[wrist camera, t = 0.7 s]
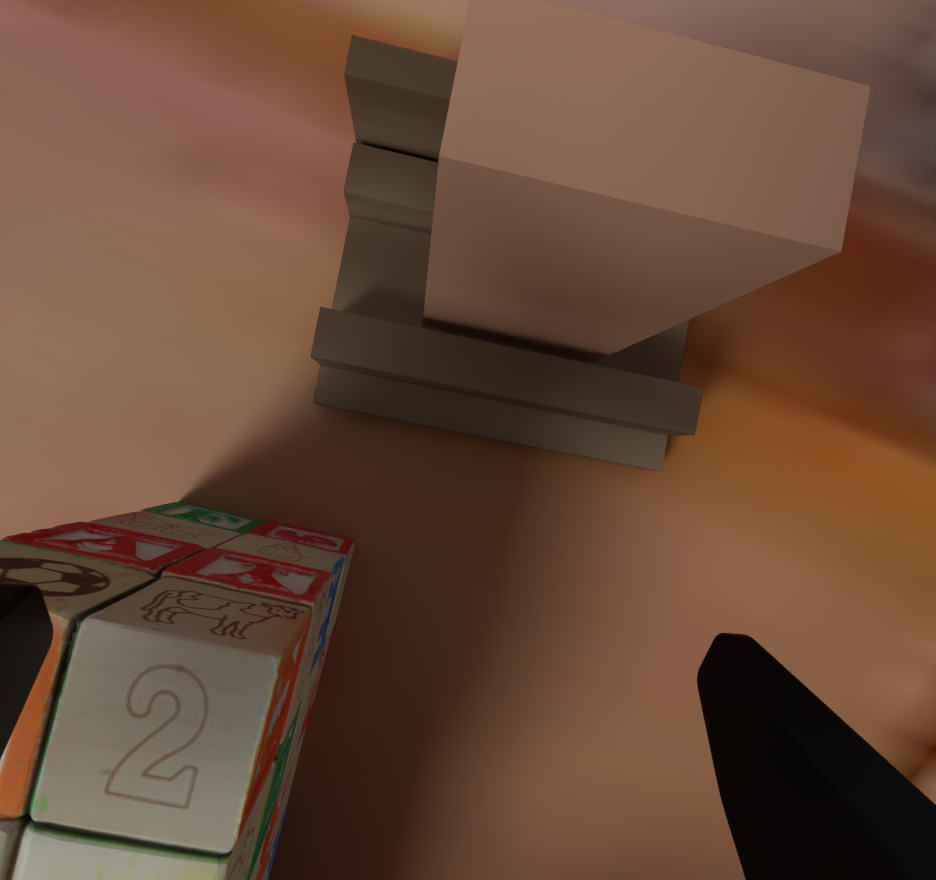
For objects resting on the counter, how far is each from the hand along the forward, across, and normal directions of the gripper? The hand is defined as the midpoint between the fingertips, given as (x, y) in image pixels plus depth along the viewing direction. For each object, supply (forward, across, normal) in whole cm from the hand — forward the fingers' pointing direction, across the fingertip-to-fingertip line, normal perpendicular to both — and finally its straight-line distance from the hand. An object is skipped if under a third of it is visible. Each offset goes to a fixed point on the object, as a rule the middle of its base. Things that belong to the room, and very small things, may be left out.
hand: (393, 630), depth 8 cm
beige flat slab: (+14, -3, 0) cm, 15 cm away
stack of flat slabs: (+15, -3, +1) cm, 15 cm away
